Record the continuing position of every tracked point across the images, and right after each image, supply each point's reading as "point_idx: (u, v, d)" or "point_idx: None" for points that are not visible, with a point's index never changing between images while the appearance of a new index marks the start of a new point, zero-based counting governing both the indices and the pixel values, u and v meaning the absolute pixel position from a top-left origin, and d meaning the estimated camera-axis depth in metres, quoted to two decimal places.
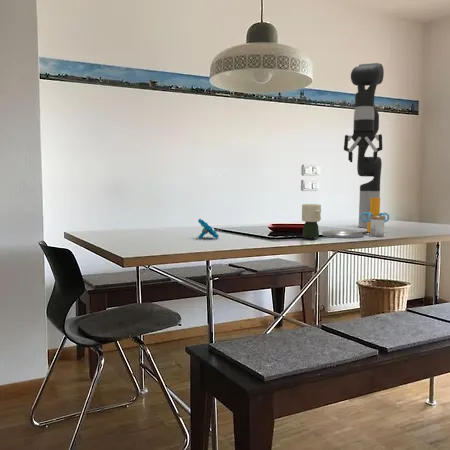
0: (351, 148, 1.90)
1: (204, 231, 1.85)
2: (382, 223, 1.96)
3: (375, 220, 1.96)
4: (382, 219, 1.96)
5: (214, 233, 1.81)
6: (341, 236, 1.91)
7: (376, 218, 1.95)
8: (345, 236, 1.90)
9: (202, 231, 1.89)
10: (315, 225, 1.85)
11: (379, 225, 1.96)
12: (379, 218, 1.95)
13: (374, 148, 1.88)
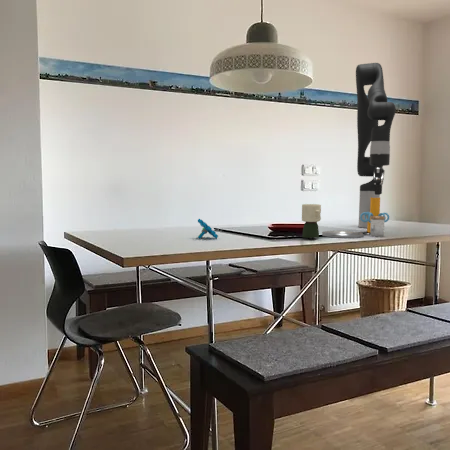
0: (381, 181, 1.92)
1: (203, 231, 1.85)
2: (382, 223, 1.96)
3: (375, 220, 1.96)
4: (382, 219, 1.96)
5: (213, 233, 1.81)
6: (341, 236, 1.91)
7: (376, 218, 1.95)
8: (345, 236, 1.90)
9: (202, 231, 1.89)
10: (315, 225, 1.85)
11: (379, 225, 1.96)
12: (379, 218, 1.95)
13: (382, 181, 2.00)
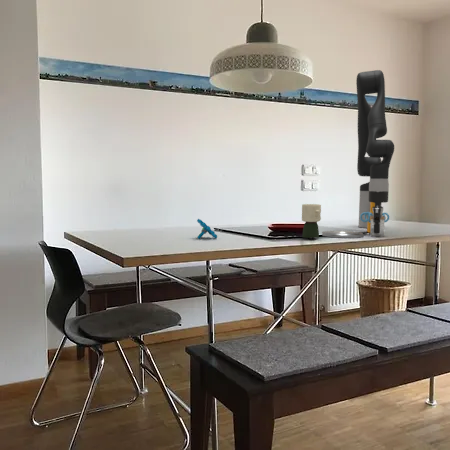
0: None
1: (203, 231, 1.85)
2: (382, 223, 1.96)
3: None
4: (382, 219, 1.96)
5: (212, 233, 1.81)
6: (341, 236, 1.91)
7: (376, 218, 1.95)
8: (345, 236, 1.90)
9: (201, 231, 1.89)
10: (315, 225, 1.85)
11: None
12: None
13: None
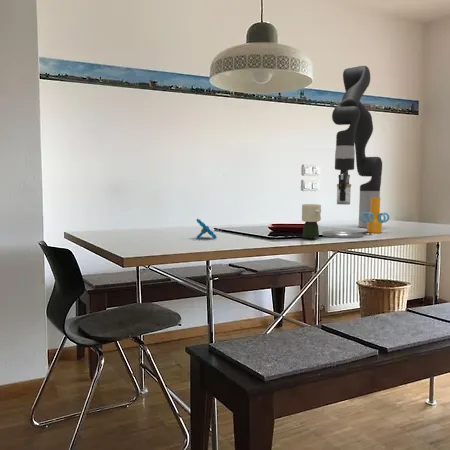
0: None
1: (202, 231, 1.85)
2: (348, 191, 1.95)
3: None
4: (348, 186, 1.94)
5: (211, 233, 1.81)
6: (341, 236, 1.91)
7: (342, 185, 1.94)
8: (345, 236, 1.90)
9: (201, 231, 1.89)
10: (315, 225, 1.85)
11: None
12: None
13: None
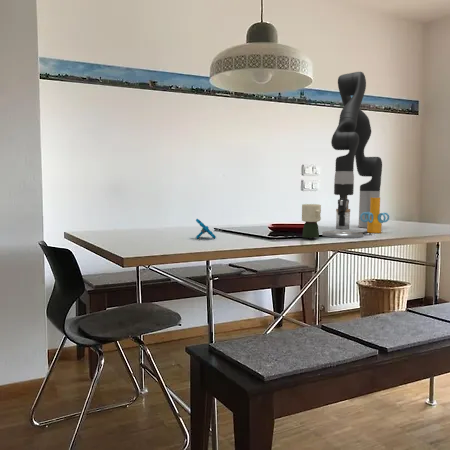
0: None
1: (201, 231, 1.85)
2: (347, 216, 1.95)
3: None
4: (347, 212, 1.95)
5: (210, 233, 1.81)
6: (341, 236, 1.91)
7: (341, 211, 1.95)
8: (345, 236, 1.90)
9: None
10: (315, 225, 1.85)
11: None
12: None
13: None
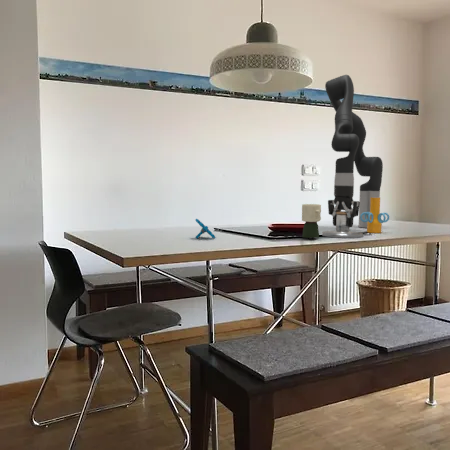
0: None
1: (201, 231, 1.85)
2: None
3: (347, 215, 1.95)
4: None
5: (209, 233, 1.81)
6: (341, 236, 1.91)
7: None
8: (345, 236, 1.90)
9: None
10: (315, 225, 1.85)
11: None
12: None
13: None
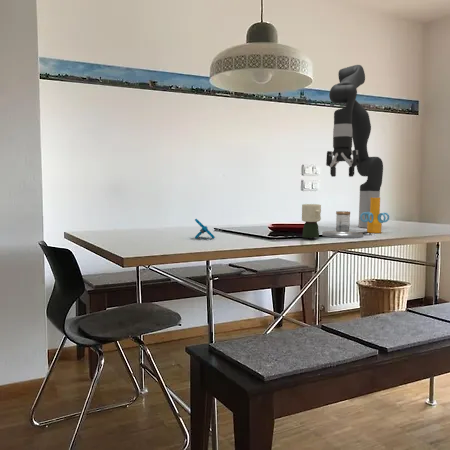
0: None
1: (200, 231, 1.85)
2: None
3: (347, 215, 1.95)
4: None
5: (208, 233, 1.81)
6: (341, 236, 1.91)
7: (348, 213, 1.95)
8: (345, 236, 1.90)
9: None
10: (315, 225, 1.85)
11: (349, 220, 1.96)
12: (349, 213, 1.96)
13: None
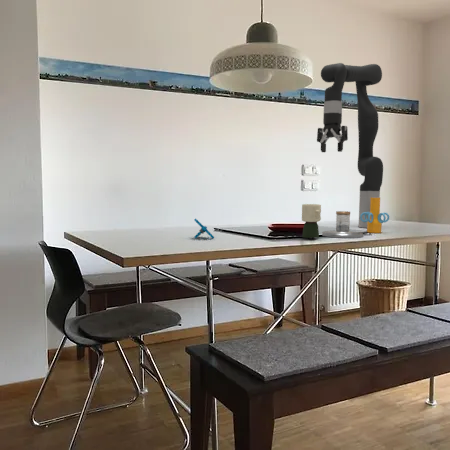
0: None
1: (200, 231, 1.85)
2: None
3: (347, 215, 1.95)
4: None
5: (207, 233, 1.81)
6: (341, 236, 1.91)
7: (348, 213, 1.95)
8: (345, 236, 1.90)
9: None
10: (315, 225, 1.85)
11: (349, 220, 1.96)
12: (349, 213, 1.96)
13: None
